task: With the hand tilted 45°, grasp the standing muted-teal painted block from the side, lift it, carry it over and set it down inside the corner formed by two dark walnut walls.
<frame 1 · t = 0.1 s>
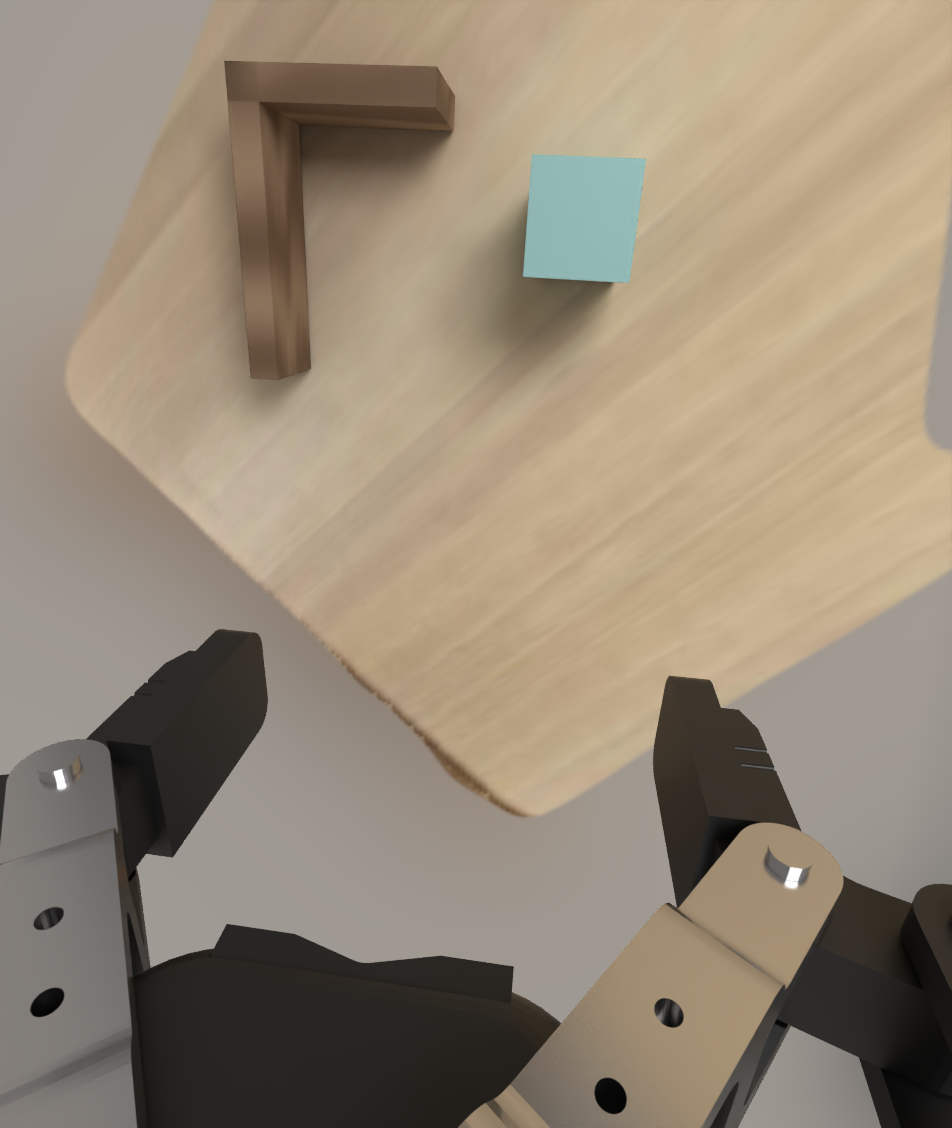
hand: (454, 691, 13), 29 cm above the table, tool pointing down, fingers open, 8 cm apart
walnut corner: (360, 243, 37), on the table
teal block: (578, 234, 35), on the table
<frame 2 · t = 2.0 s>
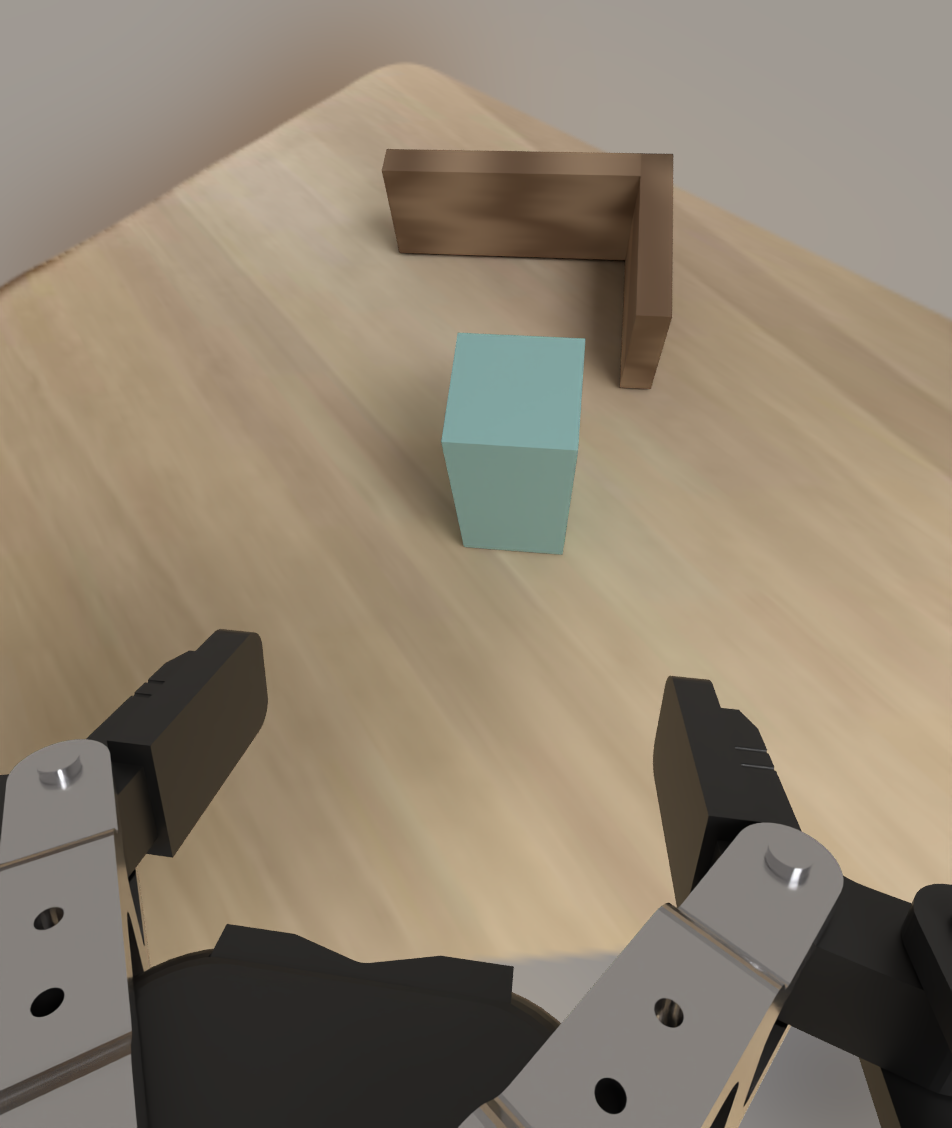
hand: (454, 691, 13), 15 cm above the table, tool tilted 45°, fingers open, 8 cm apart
walnut corner: (518, 303, 35), on the table
teal block: (517, 506, 31), on the table
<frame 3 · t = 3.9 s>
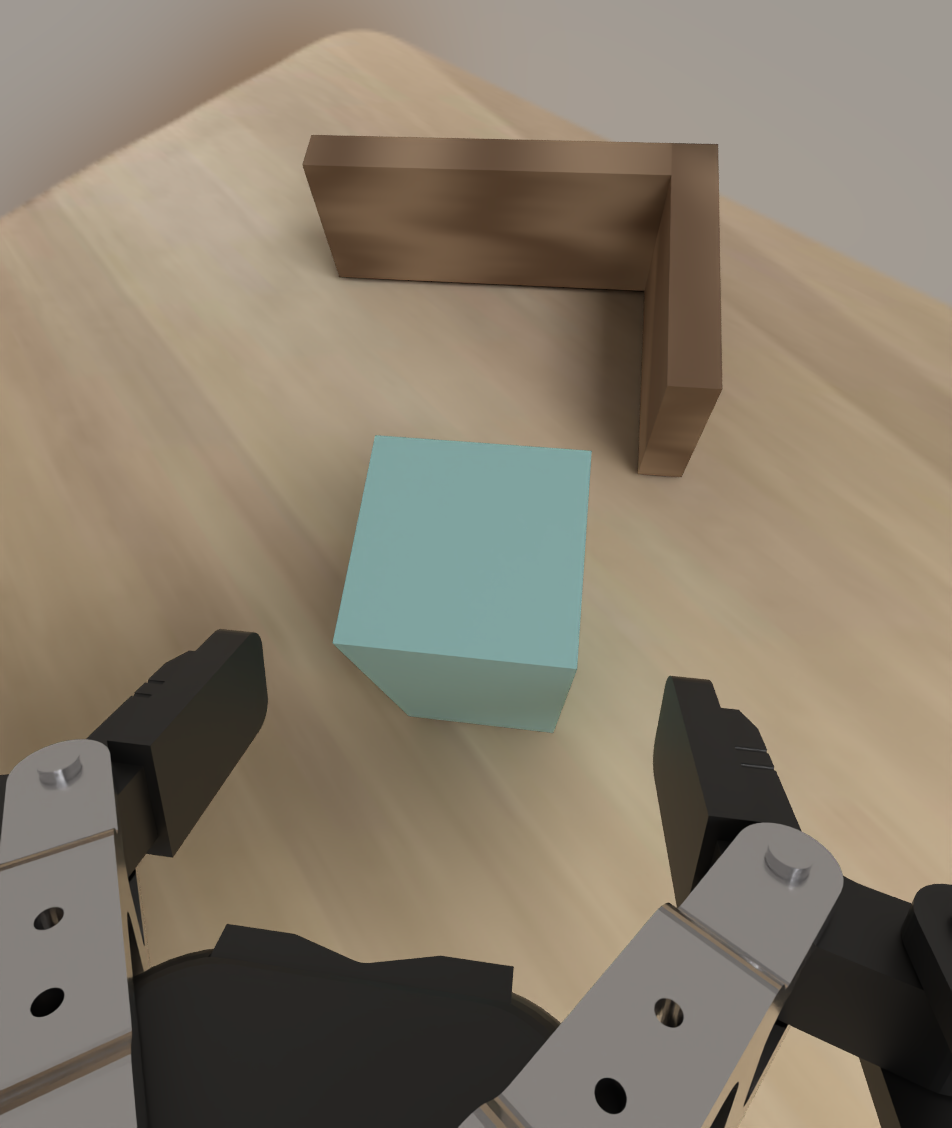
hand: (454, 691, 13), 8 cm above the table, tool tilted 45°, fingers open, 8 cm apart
walnut corner: (497, 349, 25), on the table
teal block: (488, 653, 21), on the table
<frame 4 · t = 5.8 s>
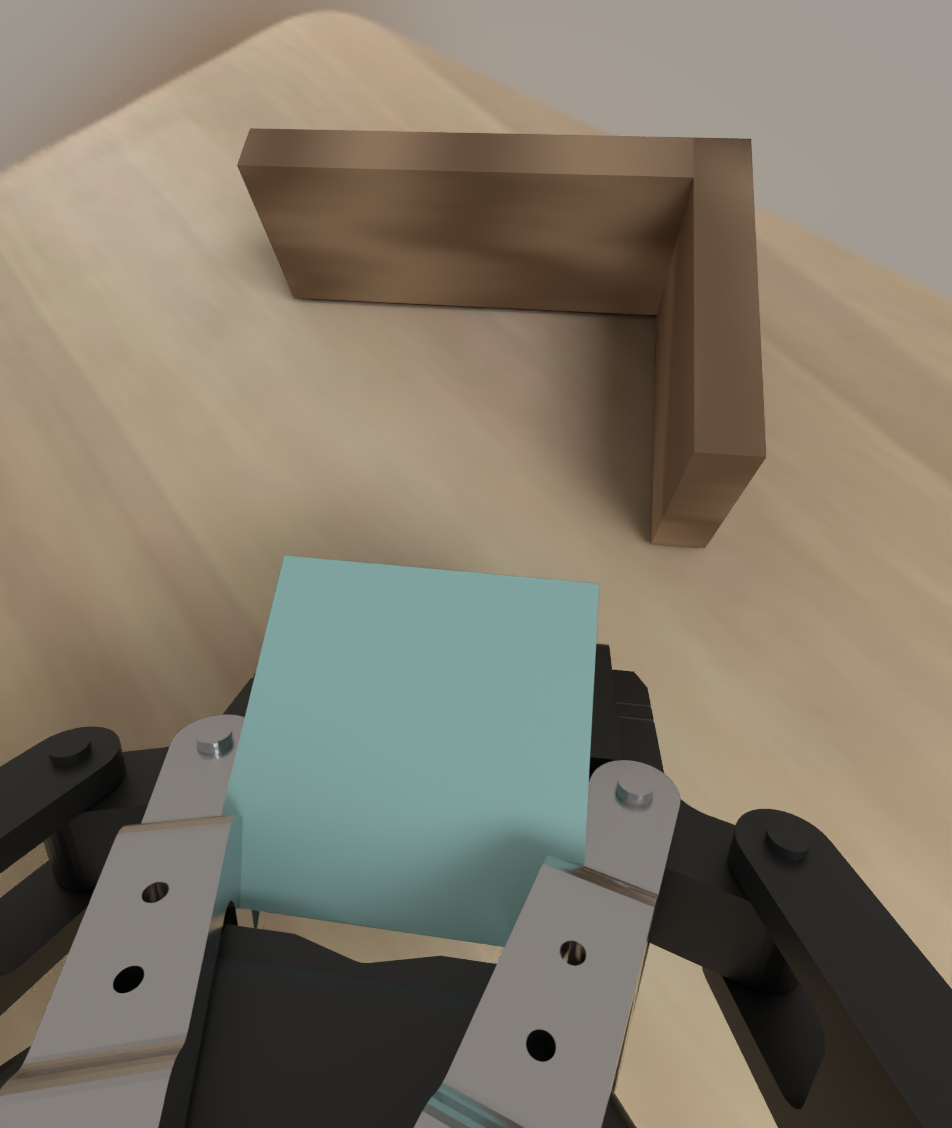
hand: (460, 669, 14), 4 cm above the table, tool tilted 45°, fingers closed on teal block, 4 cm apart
walnut corner: (481, 386, 21), on the table
teal block: (466, 777, 17), on the table, touching gripper
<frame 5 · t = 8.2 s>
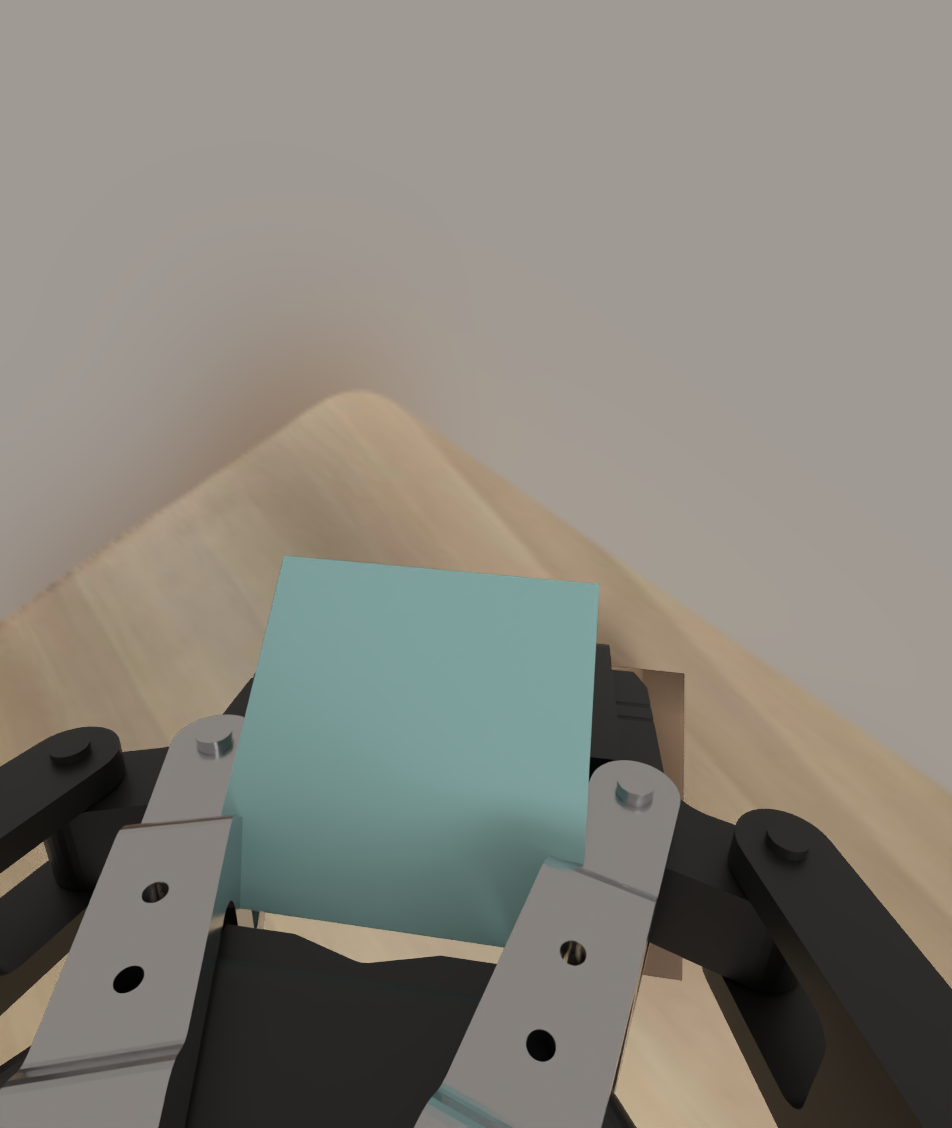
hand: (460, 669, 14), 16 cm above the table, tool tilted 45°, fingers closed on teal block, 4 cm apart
walnut corner: (486, 791, 28), on the table
teal block: (466, 778, 17), point 12 cm above the table, touching gripper
when the fingers open (6 cm above the table, at t = 10.5 s): teal block drops 1 cm, on the table.
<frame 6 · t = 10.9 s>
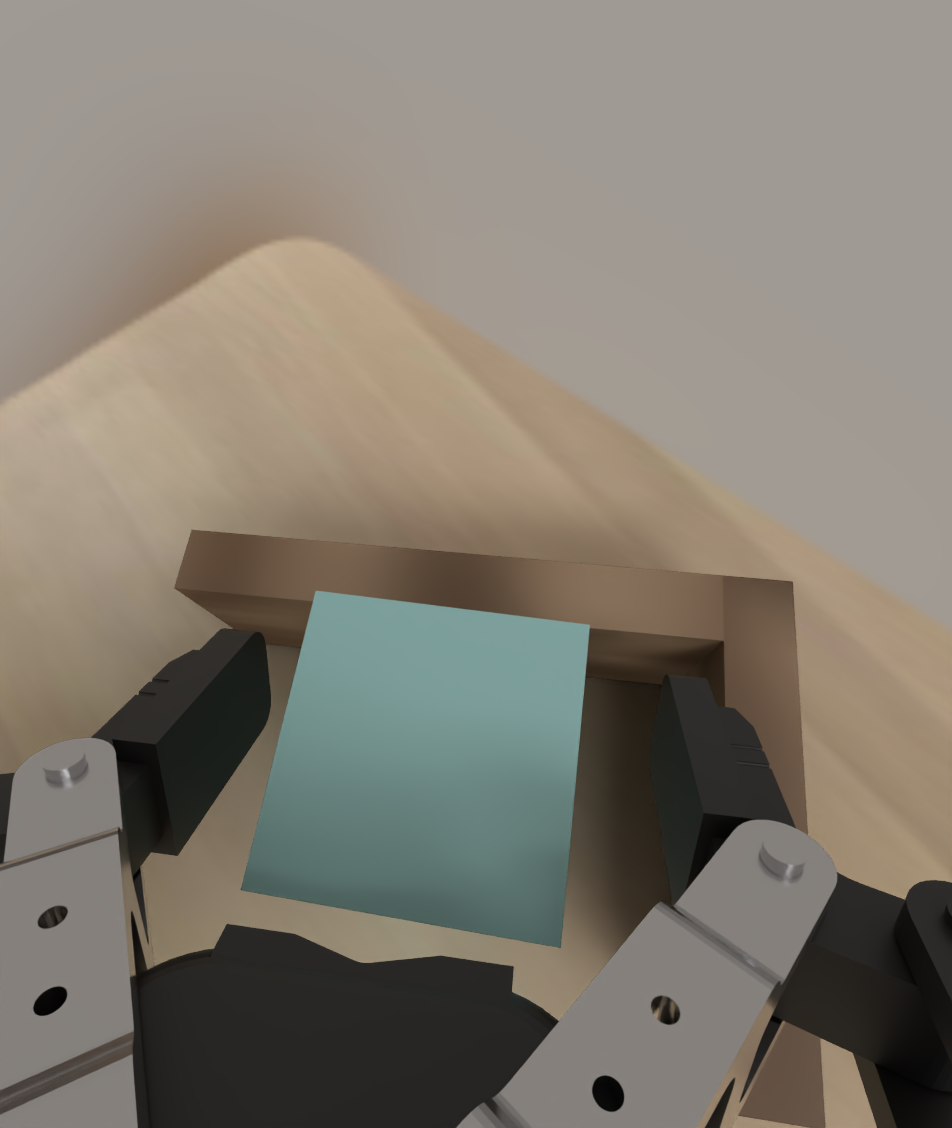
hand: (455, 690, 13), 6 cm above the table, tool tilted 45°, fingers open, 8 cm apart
walnut corner: (468, 781, 18), on the table
teal block: (468, 783, 18), on the table
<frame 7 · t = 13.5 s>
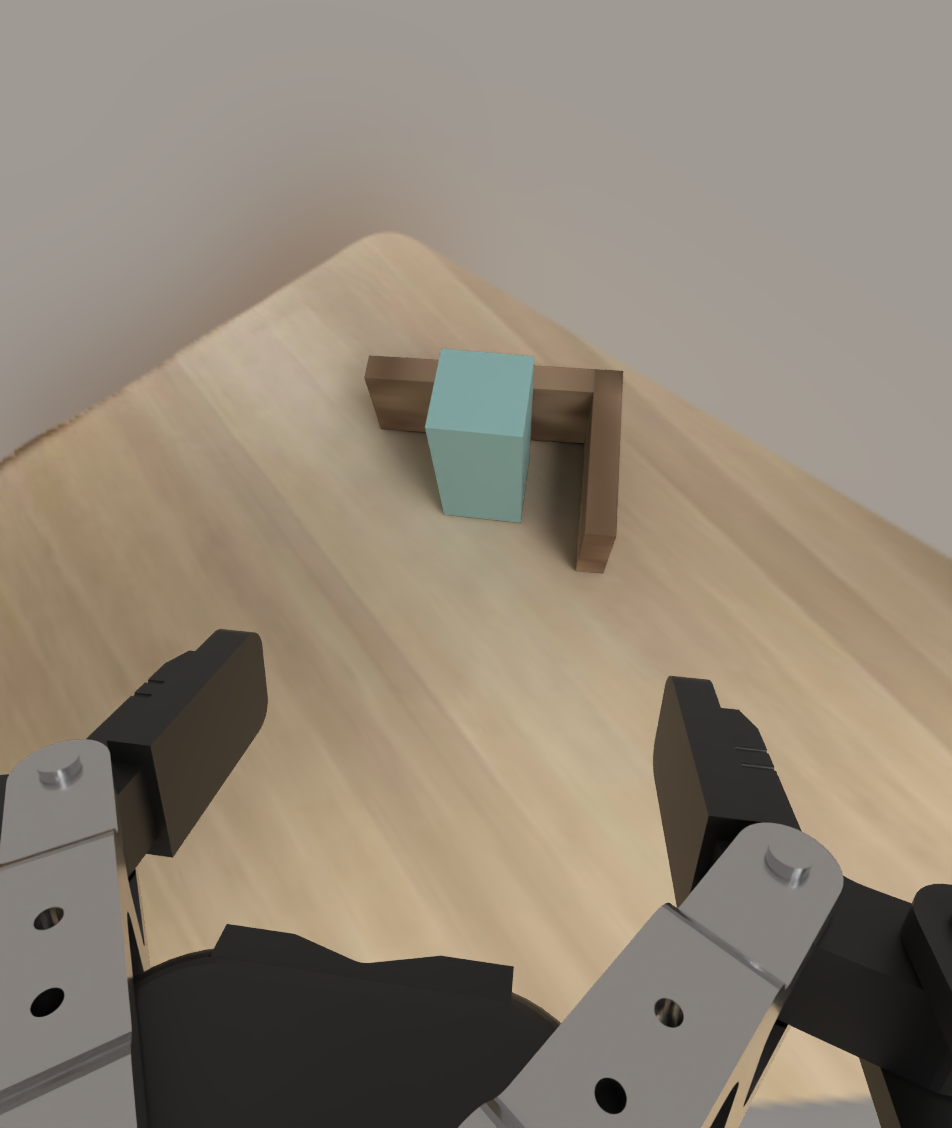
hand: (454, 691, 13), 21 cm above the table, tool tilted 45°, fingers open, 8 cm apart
walnut corner: (487, 483, 39), on the table
teal block: (487, 484, 39), on the table
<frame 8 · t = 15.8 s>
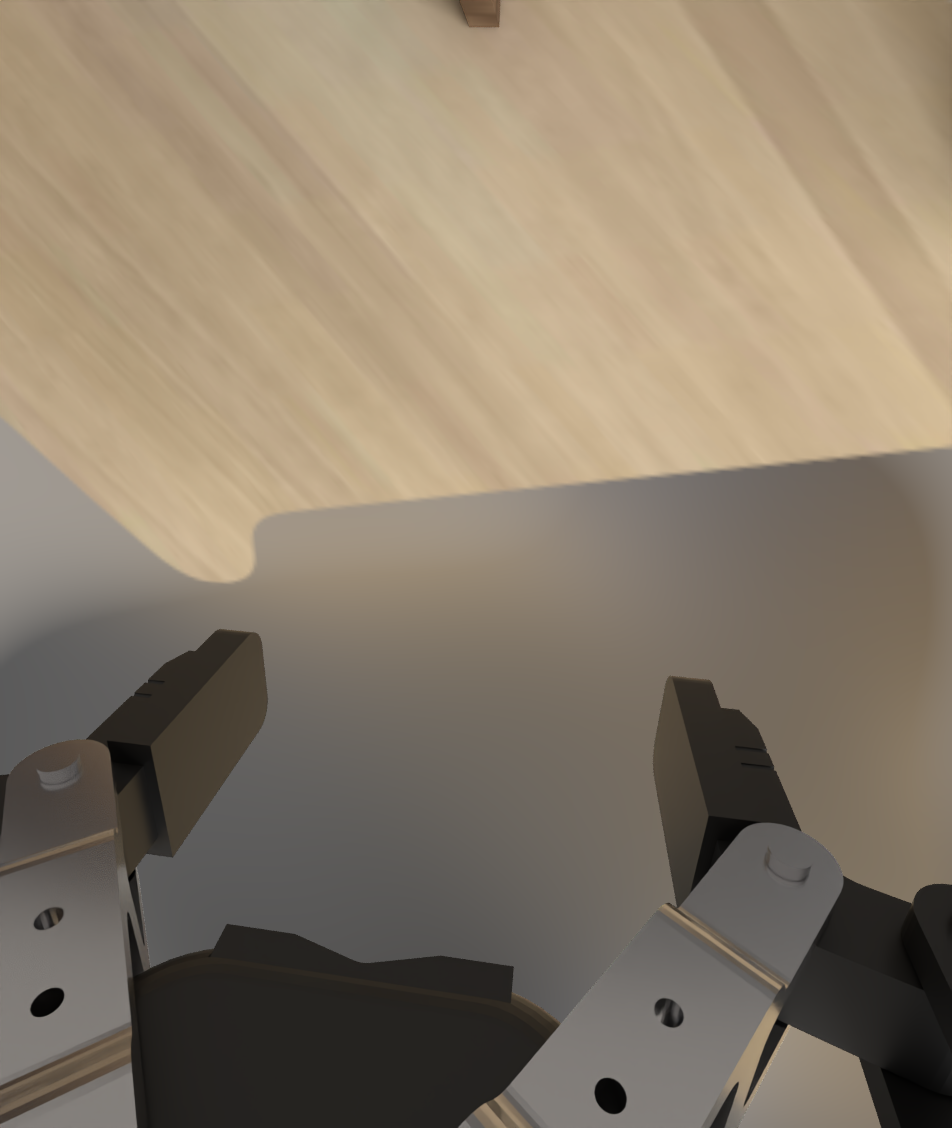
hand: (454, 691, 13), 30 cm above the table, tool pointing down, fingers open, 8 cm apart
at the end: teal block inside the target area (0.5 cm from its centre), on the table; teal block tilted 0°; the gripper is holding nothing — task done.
